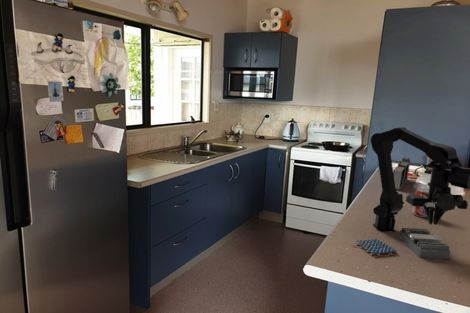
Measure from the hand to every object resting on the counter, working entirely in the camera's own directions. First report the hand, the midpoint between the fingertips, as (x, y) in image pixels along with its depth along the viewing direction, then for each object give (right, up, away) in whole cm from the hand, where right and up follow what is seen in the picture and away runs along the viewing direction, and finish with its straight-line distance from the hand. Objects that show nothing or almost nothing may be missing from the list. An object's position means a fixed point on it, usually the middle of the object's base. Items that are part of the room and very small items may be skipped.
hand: (432, 224), depth 124 cm
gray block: (-2, -6, +1) cm, 6 cm away
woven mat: (-21, -9, -1) cm, 23 cm away
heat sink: (-3, -9, +2) cm, 9 cm away
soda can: (+15, -3, +36) cm, 39 cm away
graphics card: (+31, +7, +91) cm, 96 cm away
